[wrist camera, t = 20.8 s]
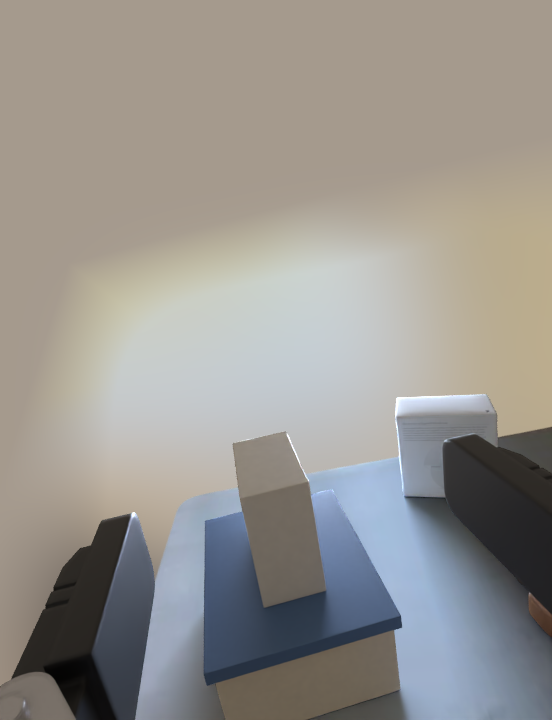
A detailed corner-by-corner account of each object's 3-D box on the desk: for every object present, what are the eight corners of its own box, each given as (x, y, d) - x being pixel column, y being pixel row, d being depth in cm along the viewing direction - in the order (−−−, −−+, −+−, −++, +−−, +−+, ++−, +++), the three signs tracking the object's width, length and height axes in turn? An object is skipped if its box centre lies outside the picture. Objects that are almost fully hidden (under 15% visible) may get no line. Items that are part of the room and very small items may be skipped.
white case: (263, 608, 28) (239, 498, 25) (251, 533, 35) (232, 442, 33) (326, 591, 28) (309, 481, 26) (301, 520, 36) (286, 430, 33)
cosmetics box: (489, 468, 50) (487, 391, 47) (500, 501, 44) (499, 415, 41) (402, 467, 53) (395, 395, 51) (402, 497, 48) (394, 417, 45)
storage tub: (226, 753, 26) (203, 674, 24) (219, 578, 40) (204, 520, 38) (409, 694, 27) (401, 616, 25) (340, 546, 42) (332, 488, 40)
